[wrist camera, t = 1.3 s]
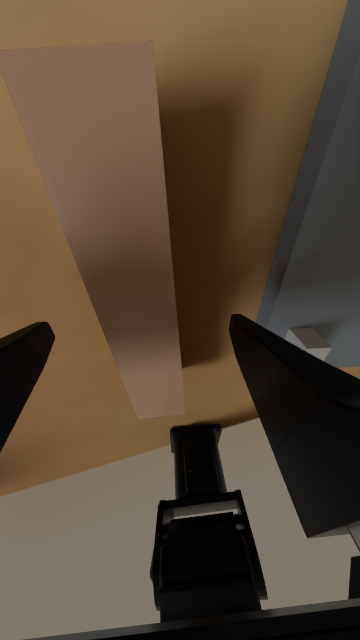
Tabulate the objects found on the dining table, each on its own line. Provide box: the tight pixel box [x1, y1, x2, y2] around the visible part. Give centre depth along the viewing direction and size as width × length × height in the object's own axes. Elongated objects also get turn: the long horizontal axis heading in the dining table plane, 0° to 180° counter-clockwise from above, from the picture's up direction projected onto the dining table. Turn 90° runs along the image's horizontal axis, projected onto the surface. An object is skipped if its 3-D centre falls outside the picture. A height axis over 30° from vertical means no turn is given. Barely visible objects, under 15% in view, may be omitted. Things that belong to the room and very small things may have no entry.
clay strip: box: [0, 40, 186, 419], centre depth 10 cm, size 16×4×4 cm, turn 4°
